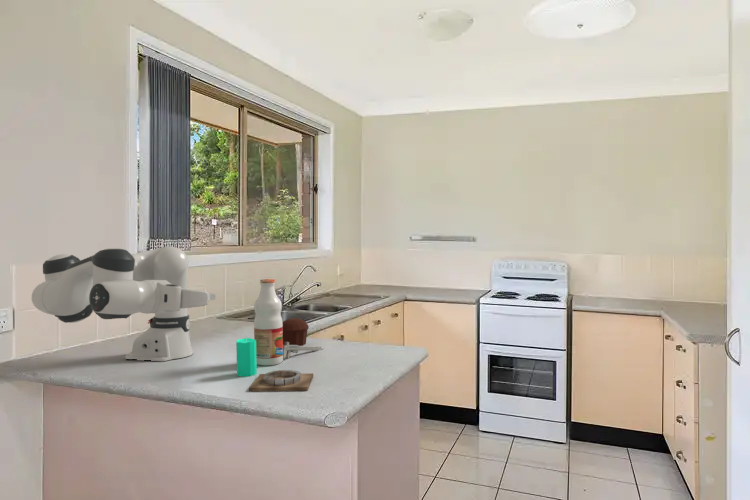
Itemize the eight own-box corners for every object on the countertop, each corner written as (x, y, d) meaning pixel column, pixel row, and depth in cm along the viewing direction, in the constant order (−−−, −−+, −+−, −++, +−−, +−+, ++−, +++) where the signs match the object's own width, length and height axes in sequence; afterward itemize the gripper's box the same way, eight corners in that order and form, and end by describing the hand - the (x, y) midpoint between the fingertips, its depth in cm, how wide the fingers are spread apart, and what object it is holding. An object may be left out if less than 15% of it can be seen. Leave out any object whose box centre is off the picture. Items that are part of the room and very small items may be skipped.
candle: (238, 371, 164) (237, 333, 164) (258, 371, 165) (257, 333, 164) (235, 376, 158) (234, 337, 158) (255, 376, 159) (254, 336, 158)
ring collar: (260, 385, 145) (260, 379, 145) (268, 375, 156) (268, 370, 156) (298, 385, 145) (298, 379, 145) (303, 375, 156) (303, 369, 156)
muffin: (306, 340, 212) (306, 316, 211) (311, 346, 201) (311, 320, 201) (276, 342, 208) (276, 317, 207) (280, 348, 197) (280, 322, 197)
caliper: (284, 360, 179) (283, 342, 179) (281, 360, 180) (281, 342, 179) (323, 349, 195) (323, 333, 195) (321, 349, 196) (321, 332, 196)
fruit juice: (254, 360, 179) (253, 278, 178) (282, 358, 181) (281, 277, 180) (254, 367, 170) (253, 281, 169) (283, 365, 172) (282, 280, 171)
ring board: (249, 391, 143) (249, 387, 143) (260, 377, 157) (260, 374, 157) (307, 390, 143) (307, 387, 143) (313, 376, 157) (313, 373, 157)
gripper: (139, 305, 146) (184, 303, 157) (177, 311, 133) (224, 309, 144) (140, 282, 146) (185, 282, 157) (179, 287, 133) (225, 286, 144)
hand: (204, 295), depth 150 cm, fingers open, 8 cm apart
